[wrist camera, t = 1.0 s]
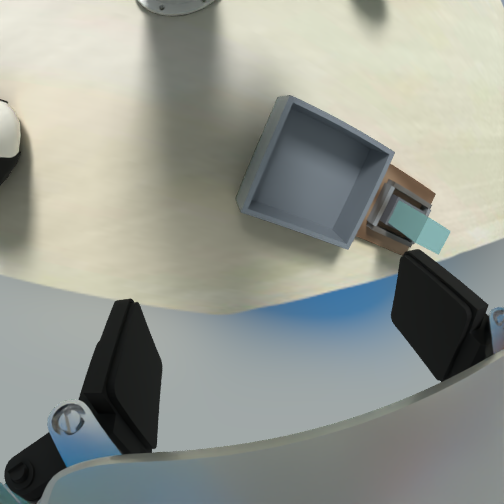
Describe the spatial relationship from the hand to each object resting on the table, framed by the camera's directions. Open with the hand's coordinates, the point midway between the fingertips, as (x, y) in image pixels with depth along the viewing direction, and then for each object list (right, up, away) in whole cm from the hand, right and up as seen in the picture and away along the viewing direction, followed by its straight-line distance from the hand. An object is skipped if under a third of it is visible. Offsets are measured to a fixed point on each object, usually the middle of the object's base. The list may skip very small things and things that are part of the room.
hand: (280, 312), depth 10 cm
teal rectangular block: (+23, +9, +36) cm, 44 cm away
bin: (+7, +14, +31) cm, 35 cm away
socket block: (+23, +9, +37) cm, 44 cm away
